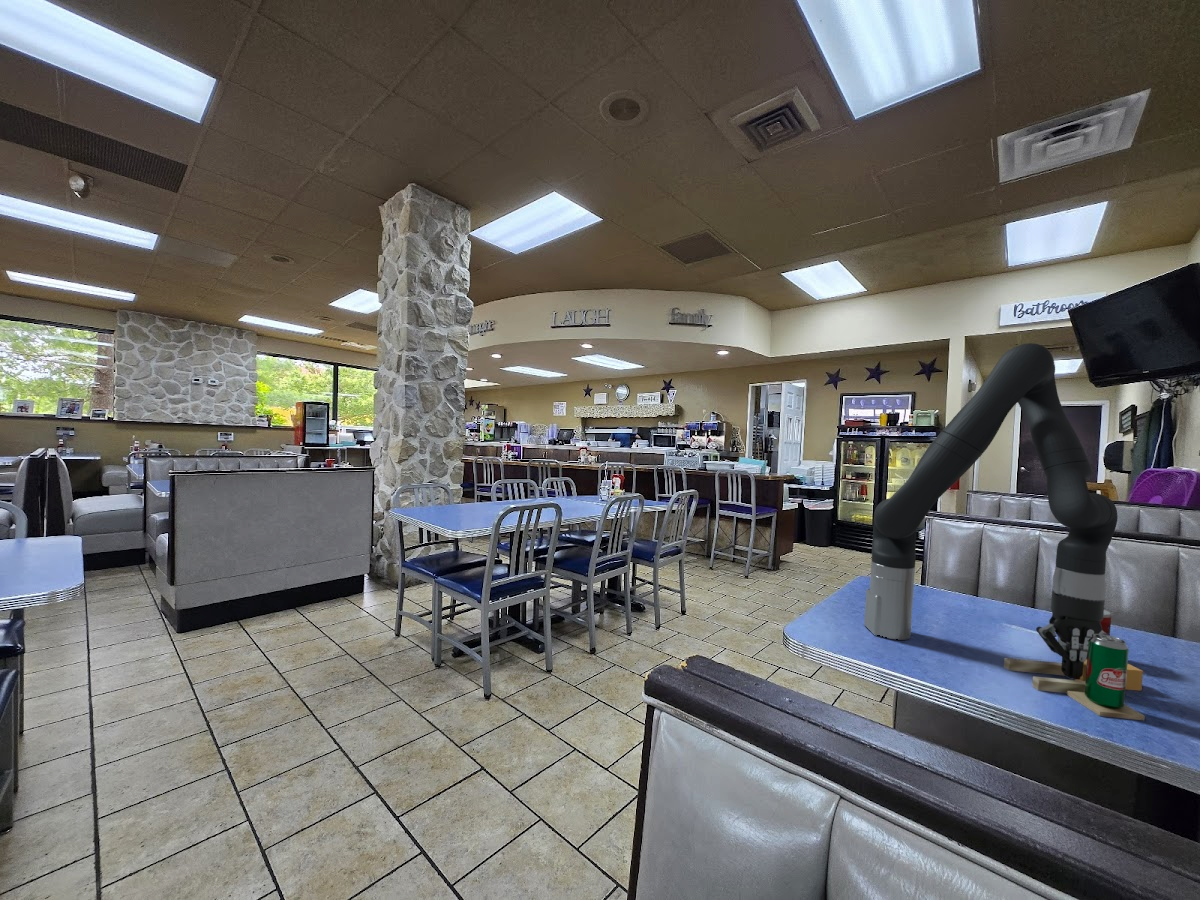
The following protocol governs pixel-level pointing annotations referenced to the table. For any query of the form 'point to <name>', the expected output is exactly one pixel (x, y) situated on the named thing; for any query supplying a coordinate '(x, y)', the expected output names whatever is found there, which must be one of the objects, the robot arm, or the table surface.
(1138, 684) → the long wooden beam
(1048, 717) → the table surface
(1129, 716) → the coaster
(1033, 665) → the rails
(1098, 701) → the soda can
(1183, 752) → the table surface
